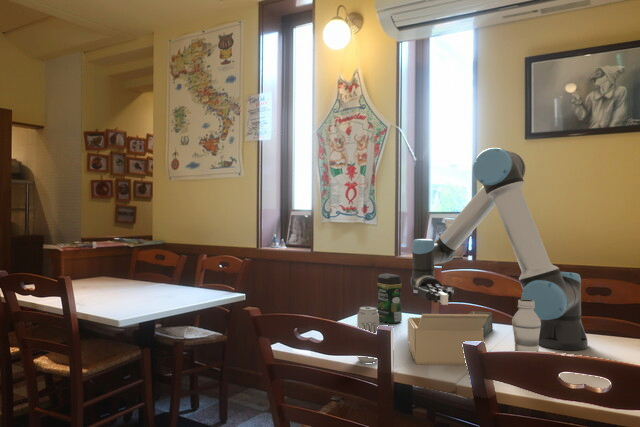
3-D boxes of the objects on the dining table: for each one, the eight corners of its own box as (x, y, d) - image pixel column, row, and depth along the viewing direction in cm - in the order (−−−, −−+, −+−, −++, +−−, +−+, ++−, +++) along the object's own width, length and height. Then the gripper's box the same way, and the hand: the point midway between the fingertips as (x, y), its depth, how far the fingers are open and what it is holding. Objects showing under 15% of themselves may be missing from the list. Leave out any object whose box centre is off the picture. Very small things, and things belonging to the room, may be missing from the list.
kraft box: (470, 350, 145) (470, 317, 145) (484, 365, 131) (484, 328, 131) (407, 349, 146) (407, 317, 146) (414, 364, 132) (414, 328, 132)
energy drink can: (359, 365, 131) (359, 310, 131) (355, 359, 137) (355, 306, 137) (381, 364, 132) (381, 310, 132) (376, 358, 138) (376, 306, 138)
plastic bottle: (547, 386, 114) (546, 302, 115) (520, 387, 114) (519, 302, 114) (533, 377, 121) (532, 297, 121) (507, 378, 120) (507, 298, 121)
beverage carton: (458, 338, 161) (458, 318, 161) (470, 327, 178) (470, 309, 178) (482, 341, 157) (482, 321, 157) (493, 329, 174) (493, 311, 174)
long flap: (488, 314, 124) (488, 316, 123) (480, 328, 131) (480, 330, 131) (422, 313, 124) (422, 315, 124) (417, 328, 132) (418, 329, 131)
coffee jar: (373, 320, 189) (373, 273, 189) (390, 318, 193) (390, 271, 193) (388, 324, 180) (388, 275, 181) (405, 322, 184) (405, 274, 184)
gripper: (448, 299, 159) (468, 313, 135) (409, 298, 159) (422, 313, 136) (448, 276, 159) (468, 286, 135) (409, 276, 159) (422, 286, 136)
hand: (445, 299), depth 135 cm, fingers closed
